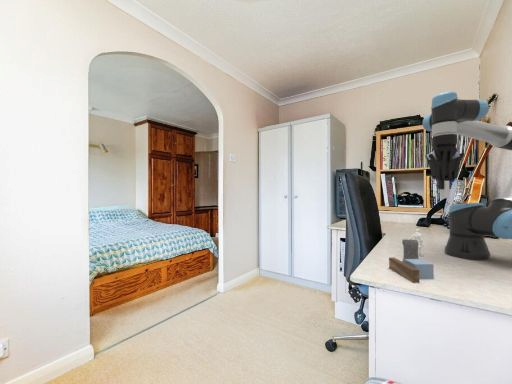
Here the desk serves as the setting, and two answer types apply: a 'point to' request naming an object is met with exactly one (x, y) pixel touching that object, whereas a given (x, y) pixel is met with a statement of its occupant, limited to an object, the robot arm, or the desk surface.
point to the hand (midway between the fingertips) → (444, 198)
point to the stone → (410, 249)
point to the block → (422, 267)
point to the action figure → (419, 239)
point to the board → (404, 269)
